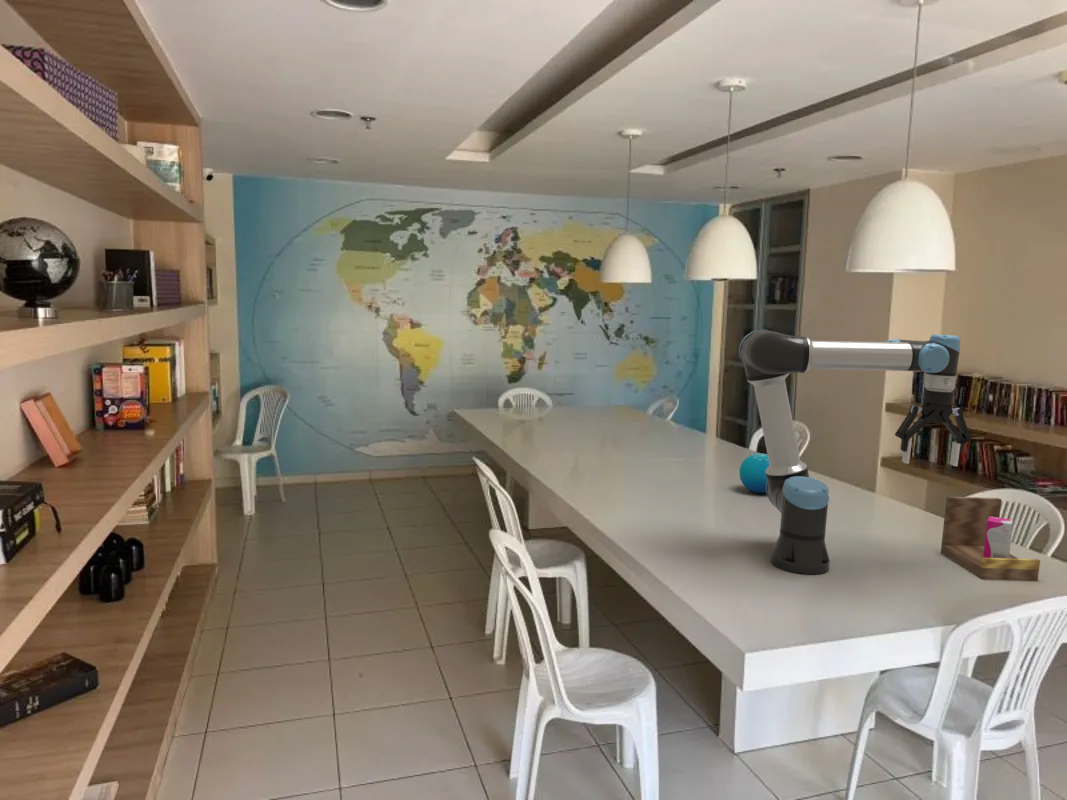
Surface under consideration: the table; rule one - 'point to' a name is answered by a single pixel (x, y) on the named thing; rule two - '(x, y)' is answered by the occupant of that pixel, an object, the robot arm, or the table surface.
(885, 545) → the table surface
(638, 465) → the table surface
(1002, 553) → the supplement box
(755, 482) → the decorative orb
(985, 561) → the display shelf
